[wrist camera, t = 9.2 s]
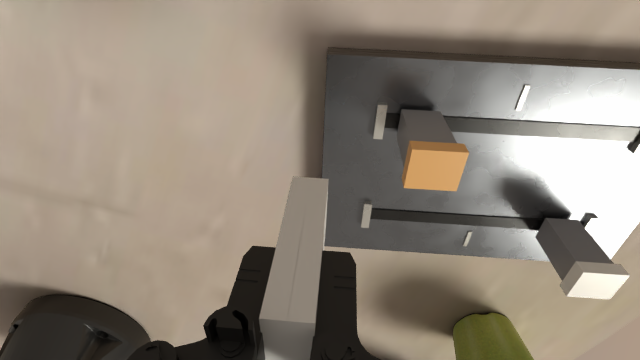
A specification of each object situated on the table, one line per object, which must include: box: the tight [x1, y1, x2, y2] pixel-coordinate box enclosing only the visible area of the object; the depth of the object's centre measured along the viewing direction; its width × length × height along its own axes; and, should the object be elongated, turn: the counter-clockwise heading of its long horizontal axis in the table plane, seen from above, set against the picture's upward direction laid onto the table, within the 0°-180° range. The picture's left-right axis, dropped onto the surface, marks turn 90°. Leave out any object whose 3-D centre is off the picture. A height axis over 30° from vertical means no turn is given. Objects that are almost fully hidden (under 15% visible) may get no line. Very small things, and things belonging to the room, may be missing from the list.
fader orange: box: [397, 109, 469, 191], centre depth 20 cm, size 3×2×5 cm
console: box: [322, 47, 640, 261], centre depth 25 cm, size 24×16×2 cm, turn 88°
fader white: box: [535, 218, 630, 299], centre depth 24 cm, size 3×2×5 cm
